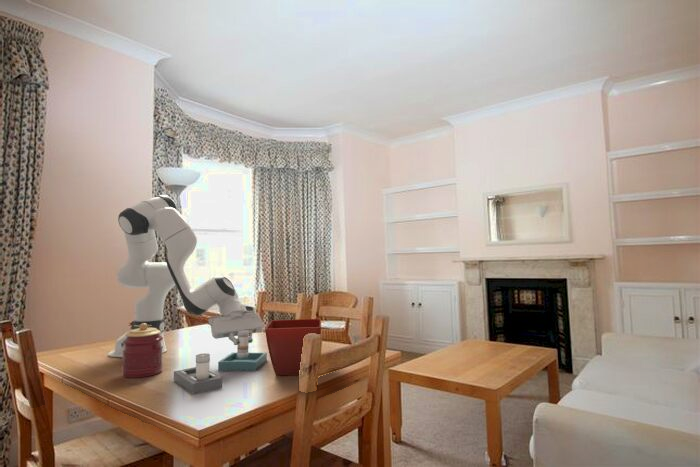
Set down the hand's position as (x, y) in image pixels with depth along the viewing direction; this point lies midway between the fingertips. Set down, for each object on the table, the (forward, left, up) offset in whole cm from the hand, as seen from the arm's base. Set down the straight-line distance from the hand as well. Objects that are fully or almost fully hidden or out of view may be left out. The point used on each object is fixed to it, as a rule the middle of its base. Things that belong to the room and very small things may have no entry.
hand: (243, 343), depth 150 cm
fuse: (-5, -25, -8) cm, 27 cm away
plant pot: (+21, -5, -9) cm, 23 cm away
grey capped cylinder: (-1, 0, -6) cm, 6 cm away
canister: (-33, -10, -9) cm, 36 cm away
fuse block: (-8, -21, -8) cm, 24 cm away
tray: (0, +1, -8) cm, 9 cm away
